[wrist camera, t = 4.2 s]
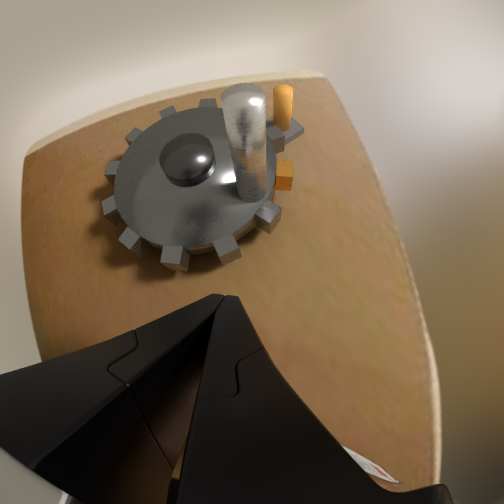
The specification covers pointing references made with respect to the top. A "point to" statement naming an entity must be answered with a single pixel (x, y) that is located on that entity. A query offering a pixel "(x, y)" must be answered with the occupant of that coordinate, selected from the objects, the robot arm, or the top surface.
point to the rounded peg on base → (284, 113)
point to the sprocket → (200, 179)
